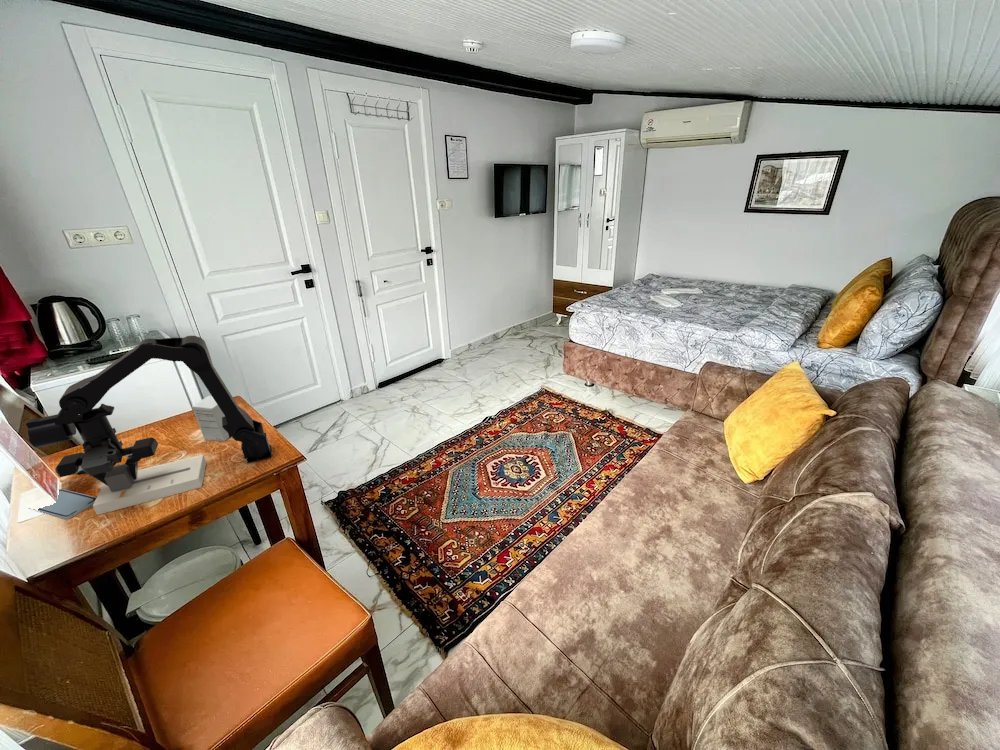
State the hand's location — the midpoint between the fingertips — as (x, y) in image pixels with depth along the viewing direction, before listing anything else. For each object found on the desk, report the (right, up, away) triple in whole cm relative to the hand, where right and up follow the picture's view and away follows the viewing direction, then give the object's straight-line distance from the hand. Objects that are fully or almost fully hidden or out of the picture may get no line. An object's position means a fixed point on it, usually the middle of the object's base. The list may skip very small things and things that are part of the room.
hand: (123, 481), depth 108 cm
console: (+5, -2, +4) cm, 7 cm away
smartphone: (-14, -6, -1) cm, 15 cm away
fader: (0, -1, 0) cm, 1 cm away
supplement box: (+8, +8, +27) cm, 29 cm away
